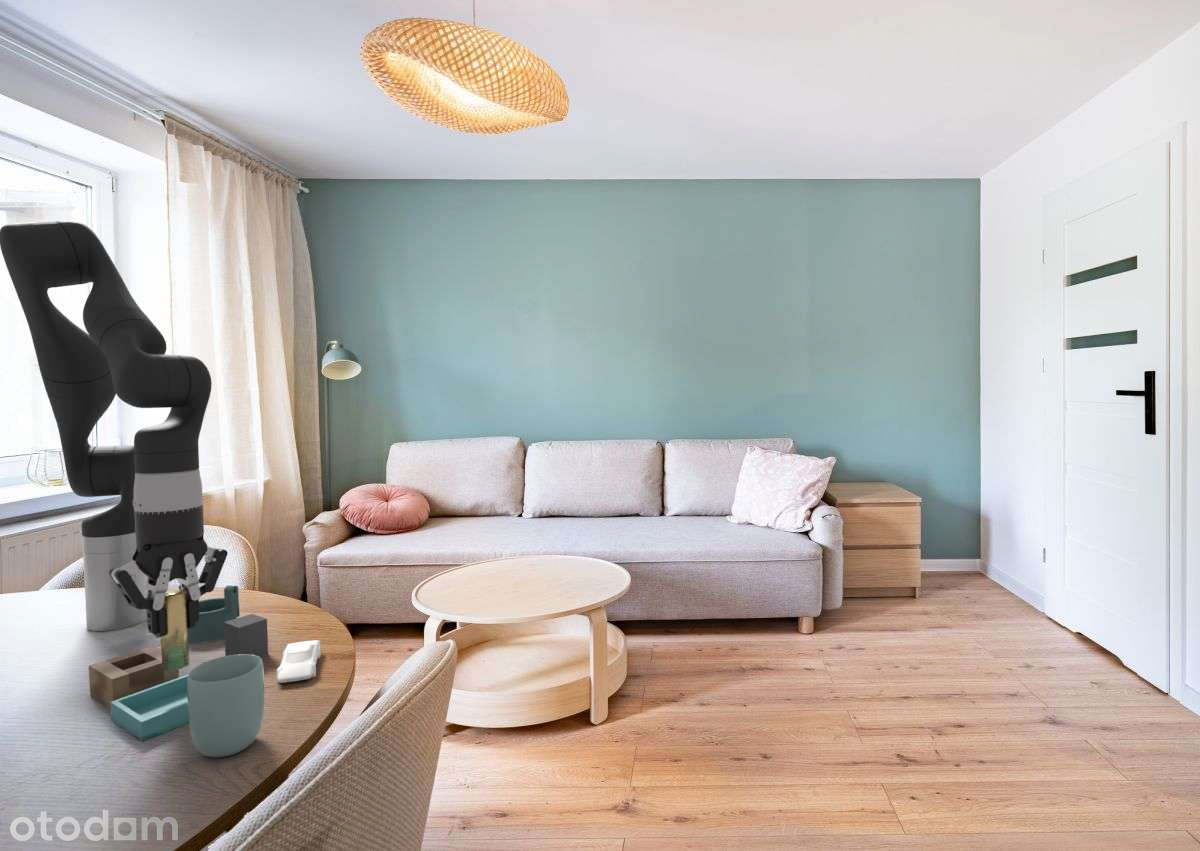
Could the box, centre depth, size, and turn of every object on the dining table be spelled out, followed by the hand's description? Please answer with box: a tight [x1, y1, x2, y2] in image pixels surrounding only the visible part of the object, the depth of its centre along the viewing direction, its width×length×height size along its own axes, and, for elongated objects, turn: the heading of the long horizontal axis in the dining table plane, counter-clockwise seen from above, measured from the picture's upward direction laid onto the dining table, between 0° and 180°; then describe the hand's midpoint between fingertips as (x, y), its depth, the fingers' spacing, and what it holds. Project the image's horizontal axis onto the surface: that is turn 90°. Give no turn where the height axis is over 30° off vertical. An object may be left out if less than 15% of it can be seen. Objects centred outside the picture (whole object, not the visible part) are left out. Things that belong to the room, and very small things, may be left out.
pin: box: [160, 589, 190, 671], centre depth 83 cm, size 3×3×10 cm
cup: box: [187, 654, 265, 758], centre depth 74 cm, size 8×8×10 cm
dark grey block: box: [224, 613, 269, 658], centre depth 100 cm, size 4×4×6 cm
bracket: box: [178, 585, 241, 644], centre depth 110 cm, size 9×9×9 cm
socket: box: [88, 644, 180, 710], centre depth 88 cm, size 8×8×4 cm
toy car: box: [276, 639, 322, 684], centre depth 96 cm, size 6×12×3 cm, turn 19°
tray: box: [110, 673, 189, 742], centre depth 83 cm, size 9×12×2 cm
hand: (174, 630), depth 83 cm, fingers closed on pin, 3 cm apart
